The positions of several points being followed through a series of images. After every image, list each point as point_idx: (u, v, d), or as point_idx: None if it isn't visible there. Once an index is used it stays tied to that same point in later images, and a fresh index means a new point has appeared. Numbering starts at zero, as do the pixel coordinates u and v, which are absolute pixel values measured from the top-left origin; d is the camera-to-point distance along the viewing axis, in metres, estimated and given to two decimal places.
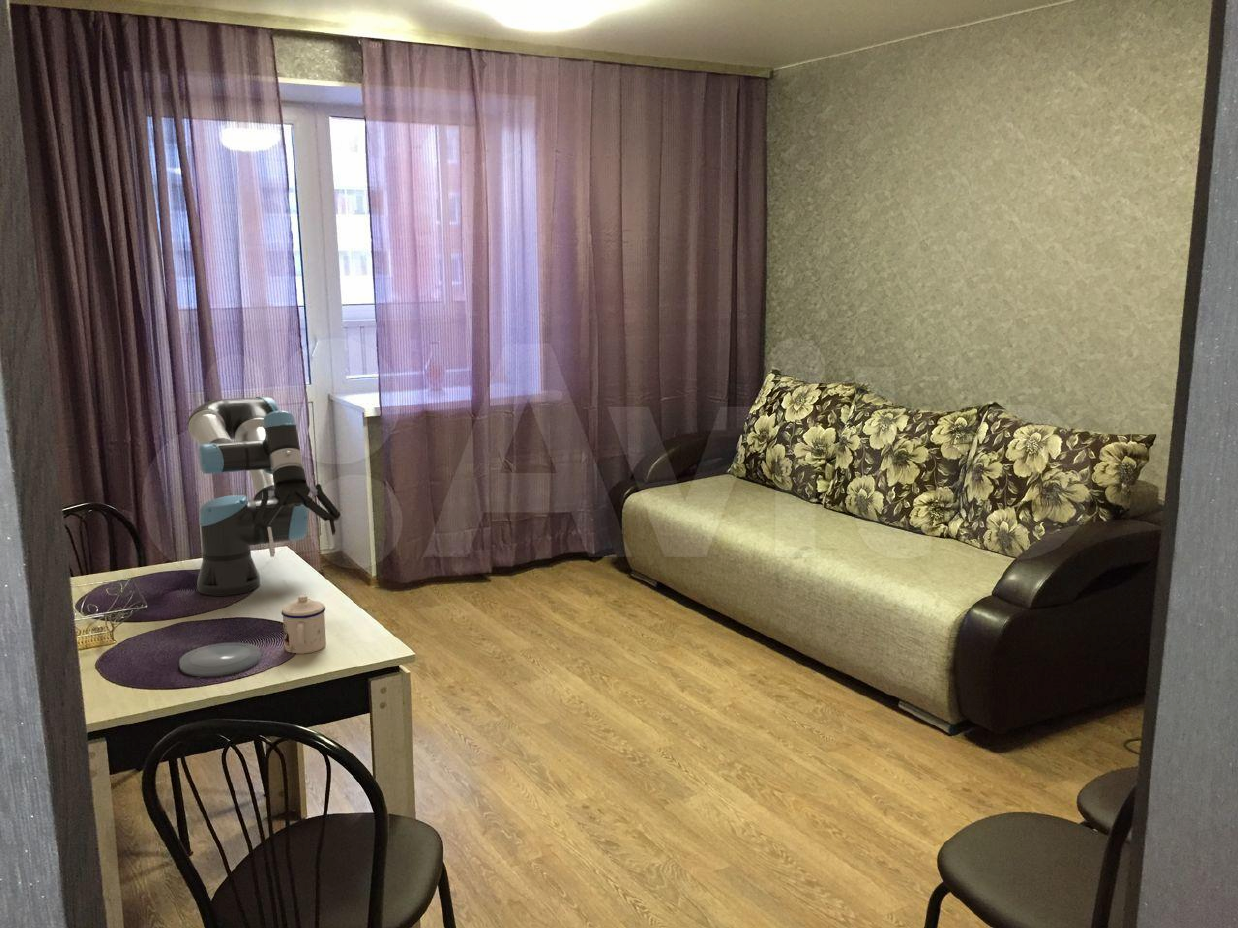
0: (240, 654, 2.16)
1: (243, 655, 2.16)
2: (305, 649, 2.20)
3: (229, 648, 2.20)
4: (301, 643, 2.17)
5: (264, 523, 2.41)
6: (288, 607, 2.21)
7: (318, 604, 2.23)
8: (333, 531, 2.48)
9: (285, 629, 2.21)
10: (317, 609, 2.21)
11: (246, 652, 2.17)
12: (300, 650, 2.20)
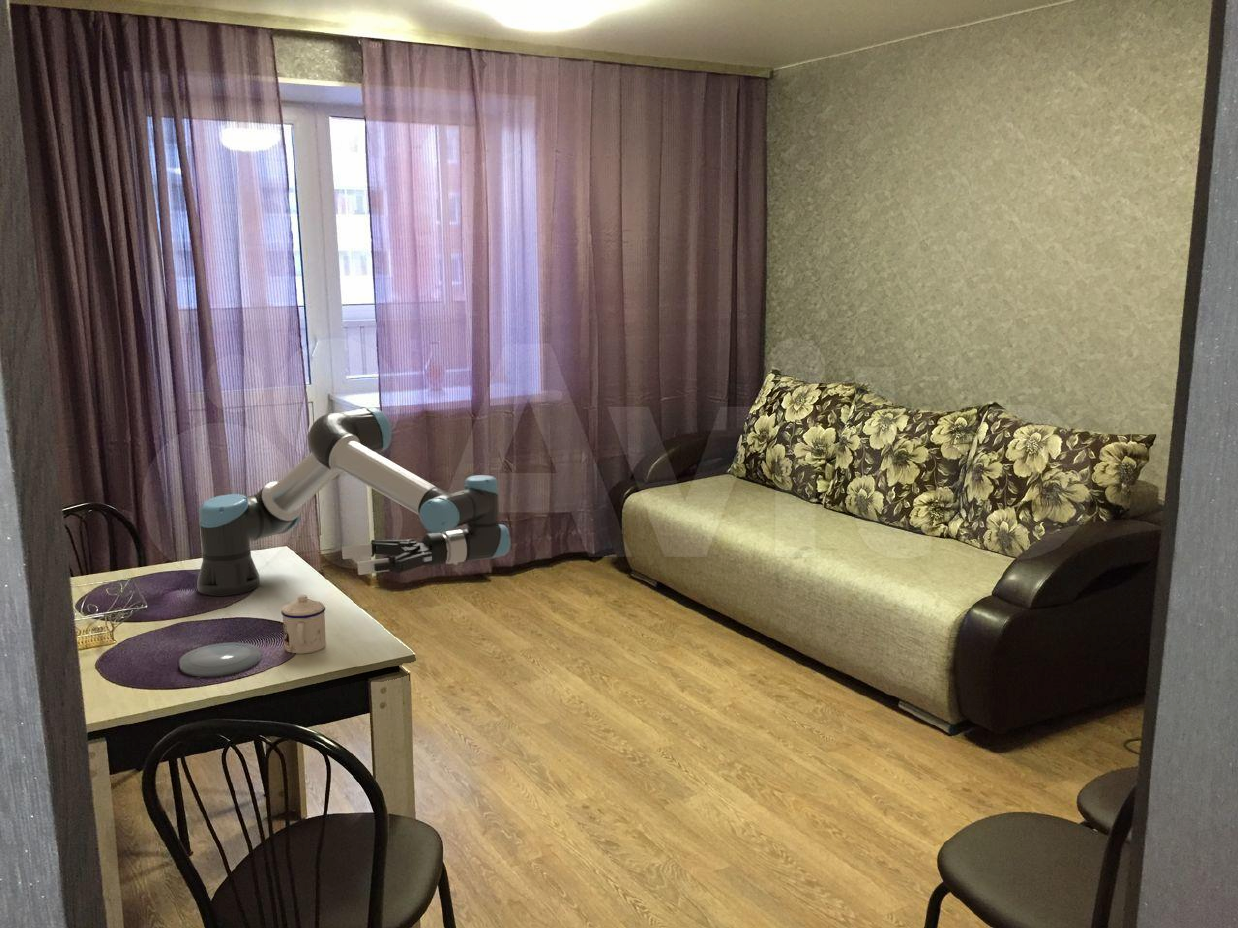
0: (240, 654, 2.16)
1: (243, 655, 2.16)
2: (305, 649, 2.20)
3: (229, 648, 2.20)
4: (301, 643, 2.17)
5: None
6: (288, 607, 2.21)
7: (318, 604, 2.23)
8: None
9: (285, 629, 2.21)
10: (317, 609, 2.21)
11: (246, 652, 2.17)
12: (300, 650, 2.20)
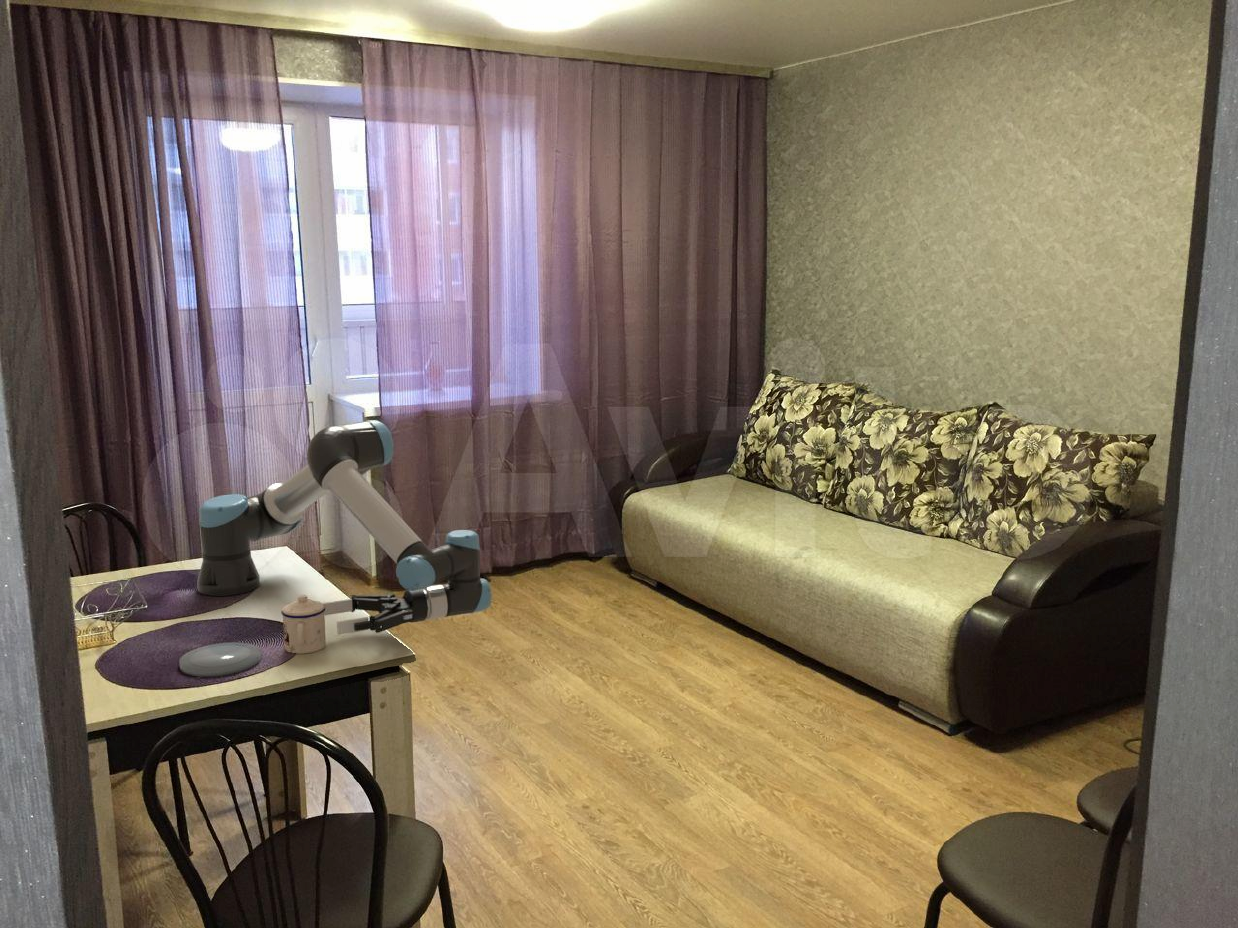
0: (240, 654, 2.16)
1: (243, 655, 2.16)
2: (305, 649, 2.20)
3: (229, 648, 2.20)
4: (301, 643, 2.17)
5: None
6: (288, 607, 2.21)
7: (318, 604, 2.23)
8: None
9: (285, 629, 2.21)
10: (317, 609, 2.21)
11: (246, 652, 2.17)
12: (300, 650, 2.20)
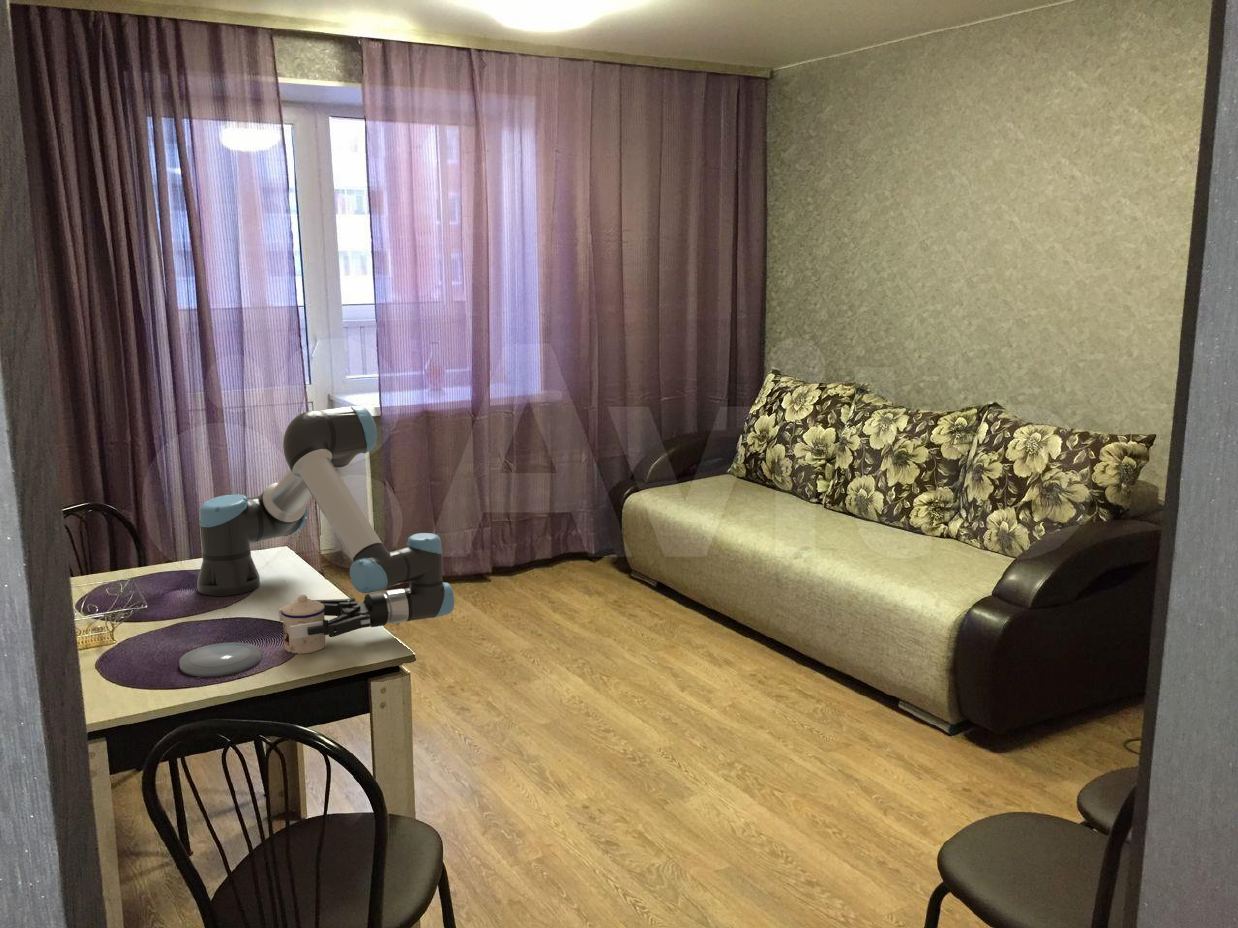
0: (240, 654, 2.16)
1: (243, 655, 2.16)
2: (305, 649, 2.20)
3: (229, 648, 2.20)
4: (301, 643, 2.17)
5: None
6: (288, 607, 2.21)
7: (318, 604, 2.23)
8: None
9: (285, 629, 2.21)
10: (317, 609, 2.21)
11: (246, 652, 2.17)
12: (300, 650, 2.20)
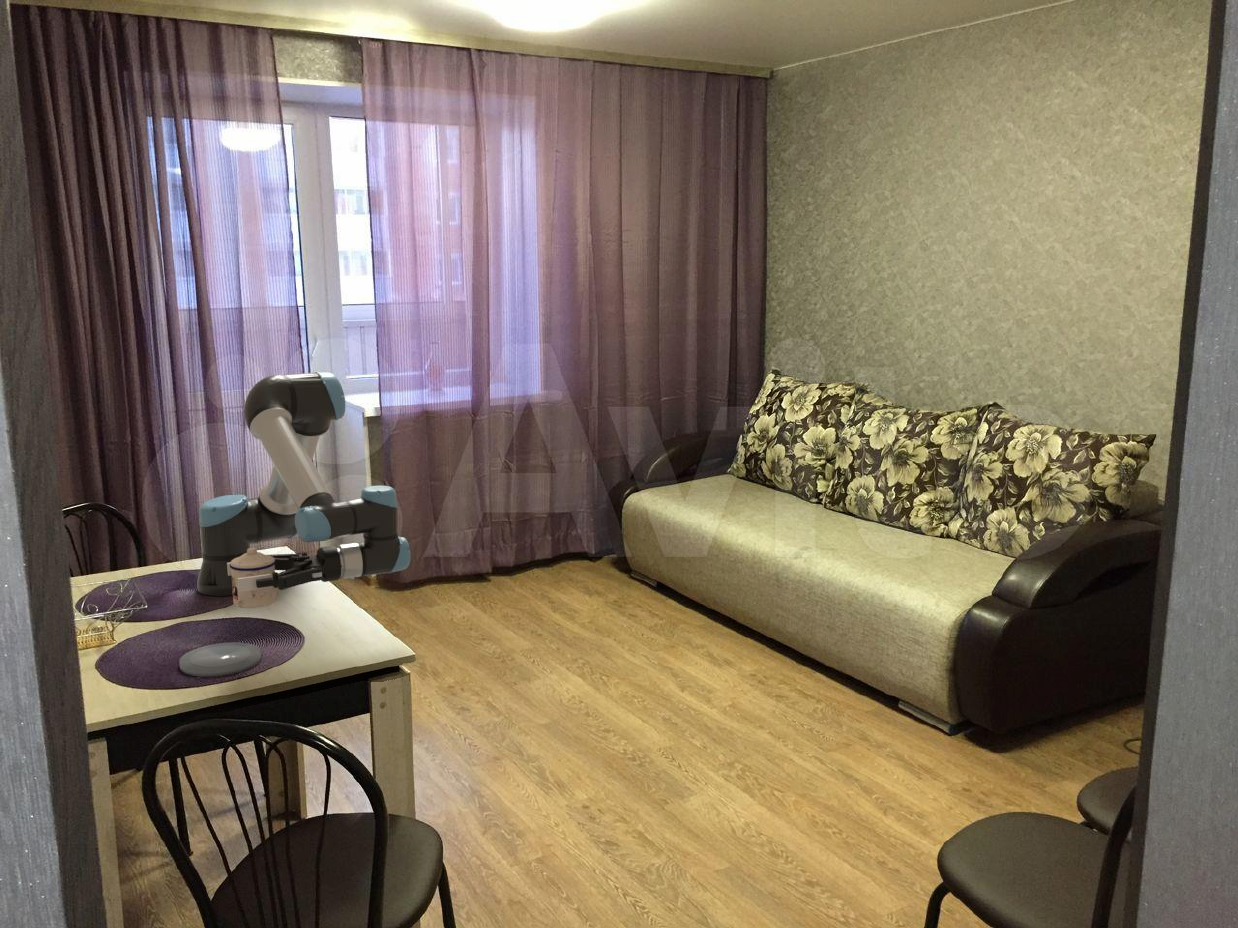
0: (240, 654, 2.16)
1: (243, 655, 2.16)
2: (254, 603, 2.13)
3: (229, 648, 2.20)
4: (250, 596, 2.10)
5: None
6: (236, 560, 2.14)
7: (268, 557, 2.16)
8: None
9: (233, 583, 2.13)
10: (267, 562, 2.14)
11: (246, 652, 2.17)
12: (249, 604, 2.13)
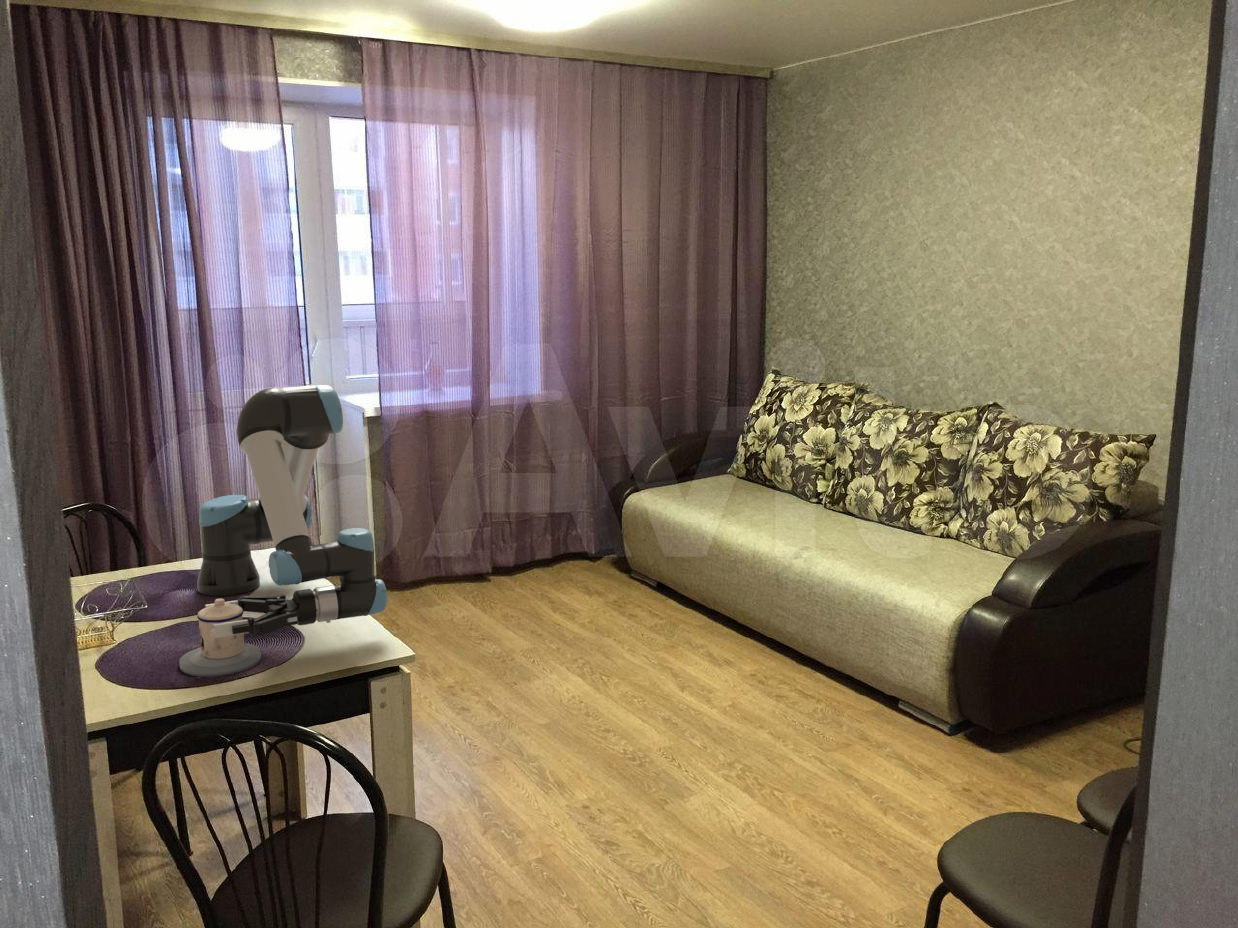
0: (240, 654, 2.16)
1: (243, 655, 2.16)
2: (219, 655, 2.13)
3: None
4: (214, 648, 2.10)
5: None
6: (204, 611, 2.14)
7: (236, 608, 2.16)
8: None
9: (200, 633, 2.14)
10: (233, 613, 2.14)
11: (246, 652, 2.17)
12: (215, 656, 2.13)
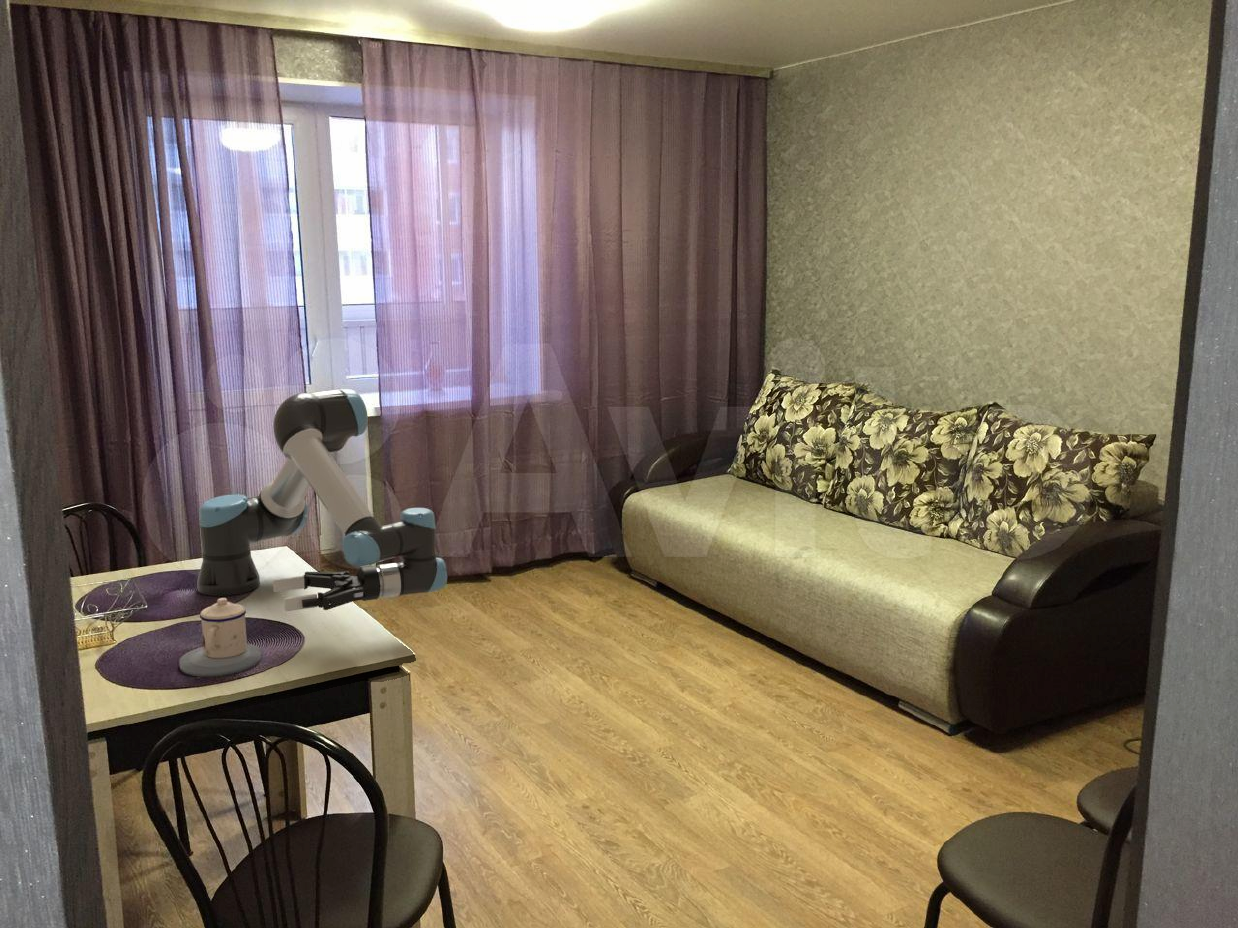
0: (240, 654, 2.16)
1: (243, 655, 2.16)
2: (219, 654, 2.14)
3: None
4: (211, 648, 2.11)
5: None
6: (206, 609, 2.15)
7: (237, 608, 2.16)
8: None
9: (202, 632, 2.15)
10: (233, 613, 2.14)
11: (246, 652, 2.17)
12: (214, 655, 2.14)
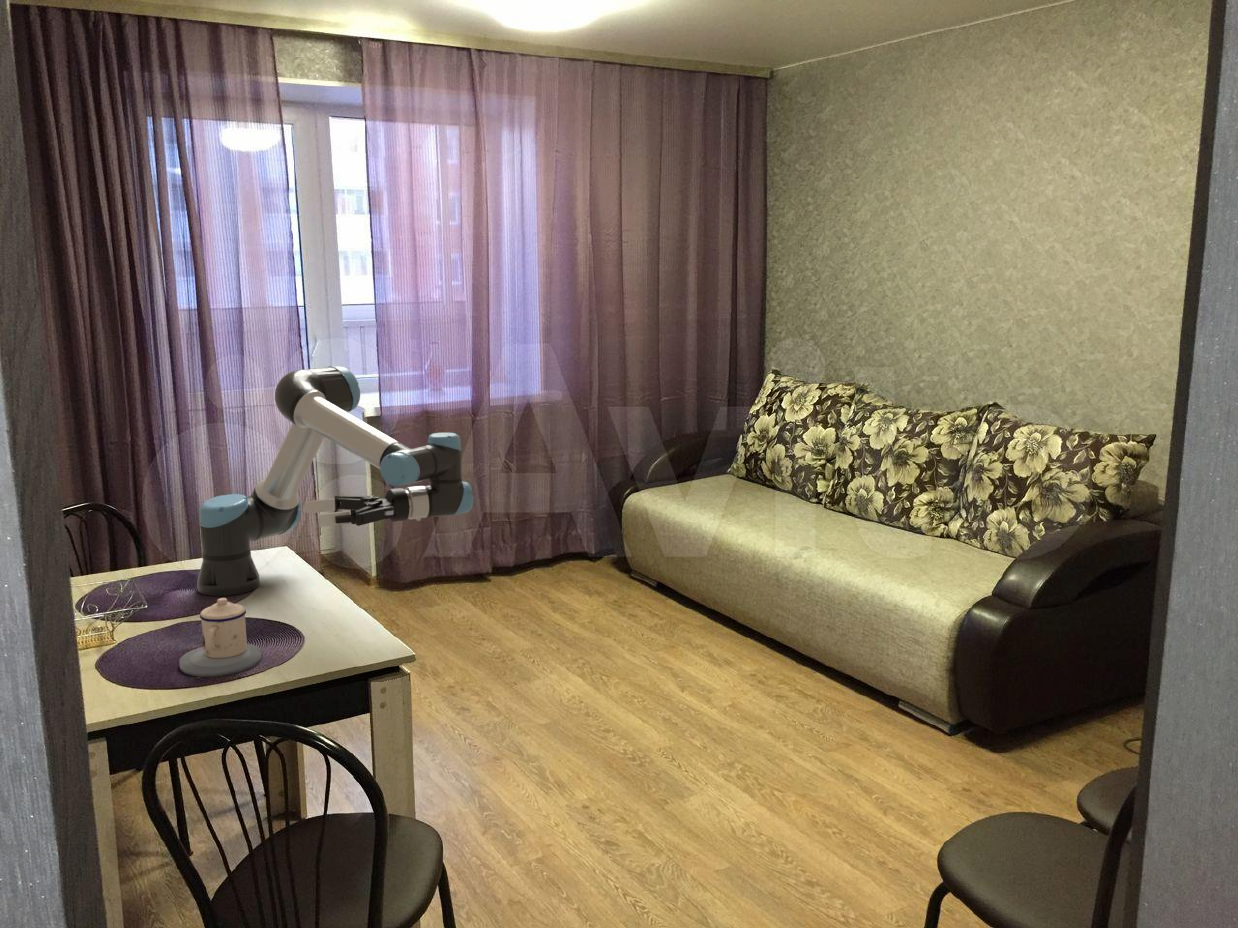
0: (240, 654, 2.16)
1: (243, 655, 2.16)
2: (219, 654, 2.14)
3: None
4: (211, 648, 2.11)
5: None
6: (206, 609, 2.15)
7: (237, 608, 2.16)
8: None
9: (202, 632, 2.15)
10: (233, 613, 2.14)
11: (246, 652, 2.17)
12: (214, 655, 2.14)
